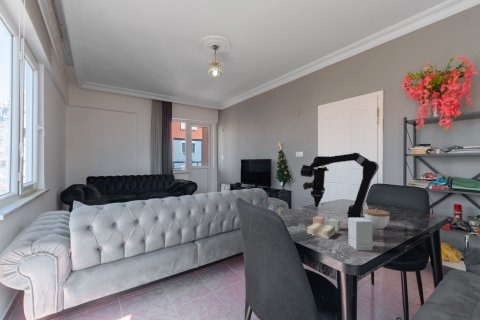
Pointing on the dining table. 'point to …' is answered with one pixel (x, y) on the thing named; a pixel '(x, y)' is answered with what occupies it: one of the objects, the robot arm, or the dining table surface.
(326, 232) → the birch block
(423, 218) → the dining table surface
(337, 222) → the sage cube
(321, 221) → the clay cube
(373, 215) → the lidded bowl
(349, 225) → the supplement box
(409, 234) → the dining table surface
